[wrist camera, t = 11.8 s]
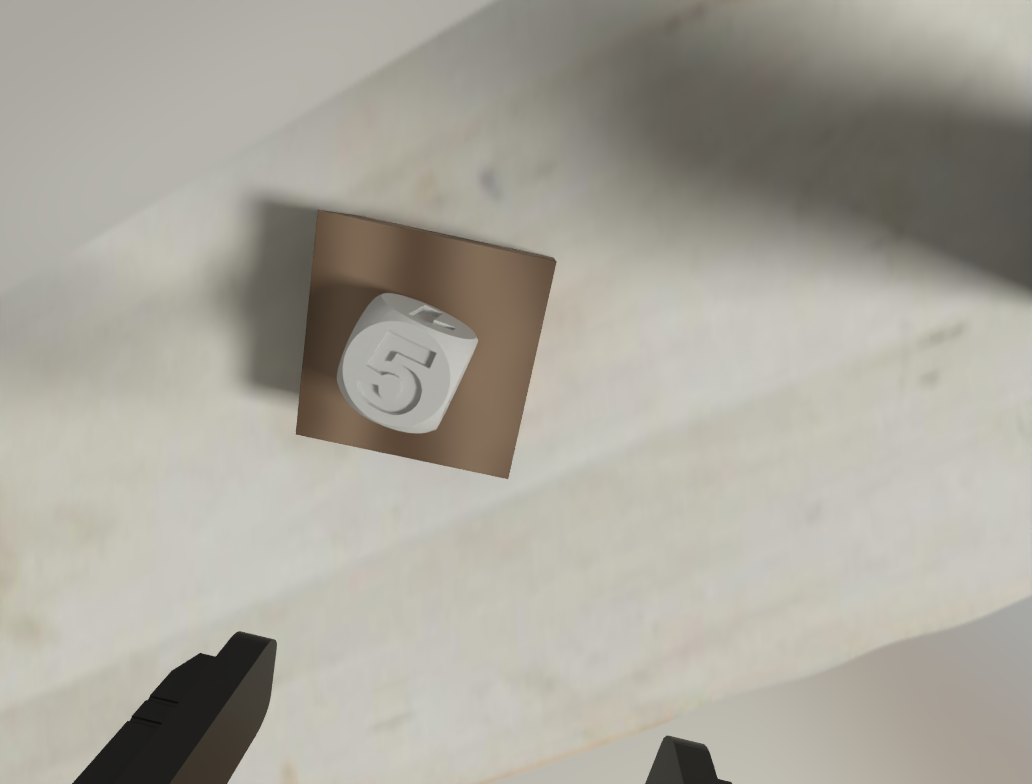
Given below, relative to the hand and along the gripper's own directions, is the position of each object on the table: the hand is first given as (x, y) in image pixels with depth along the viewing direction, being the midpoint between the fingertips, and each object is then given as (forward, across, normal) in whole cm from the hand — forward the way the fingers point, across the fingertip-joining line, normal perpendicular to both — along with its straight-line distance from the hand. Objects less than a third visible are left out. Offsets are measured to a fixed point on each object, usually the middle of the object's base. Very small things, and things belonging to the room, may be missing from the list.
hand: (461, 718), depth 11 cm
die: (+19, +6, -2) cm, 20 cm away
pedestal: (+25, +6, -2) cm, 26 cm away
